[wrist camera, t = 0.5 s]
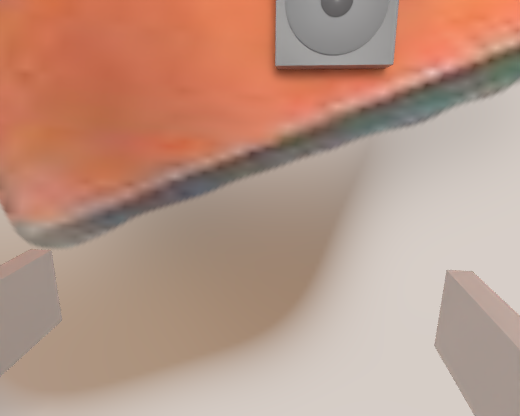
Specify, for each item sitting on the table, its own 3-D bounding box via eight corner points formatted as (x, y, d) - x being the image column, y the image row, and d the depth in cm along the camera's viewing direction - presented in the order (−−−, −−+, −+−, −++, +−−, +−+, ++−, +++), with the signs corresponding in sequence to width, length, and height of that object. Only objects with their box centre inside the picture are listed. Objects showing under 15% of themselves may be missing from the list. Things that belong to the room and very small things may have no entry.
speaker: (278, -52, 32) (276, -71, 29) (395, -57, 31) (407, -77, 28) (277, 69, 35) (275, 64, 31) (385, 68, 34) (395, 63, 30)
